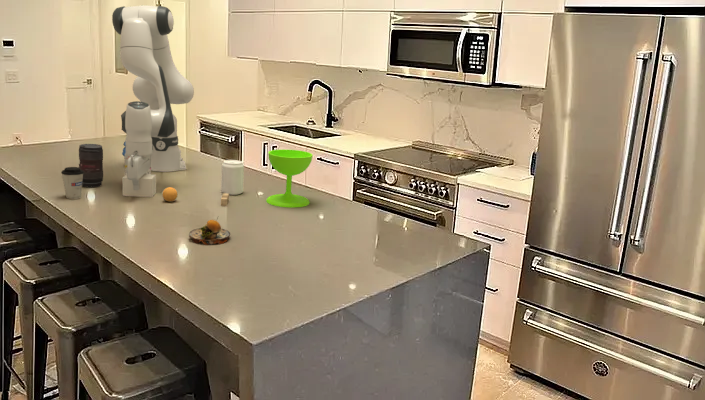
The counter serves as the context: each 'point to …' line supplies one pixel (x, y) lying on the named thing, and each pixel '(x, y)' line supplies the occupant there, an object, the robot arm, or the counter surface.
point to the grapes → (124, 150)
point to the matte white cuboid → (146, 186)
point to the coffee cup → (72, 182)
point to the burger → (210, 234)
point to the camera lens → (91, 164)
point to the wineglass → (289, 175)
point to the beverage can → (232, 177)
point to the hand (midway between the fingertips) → (139, 186)
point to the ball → (169, 194)
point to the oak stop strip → (224, 199)
